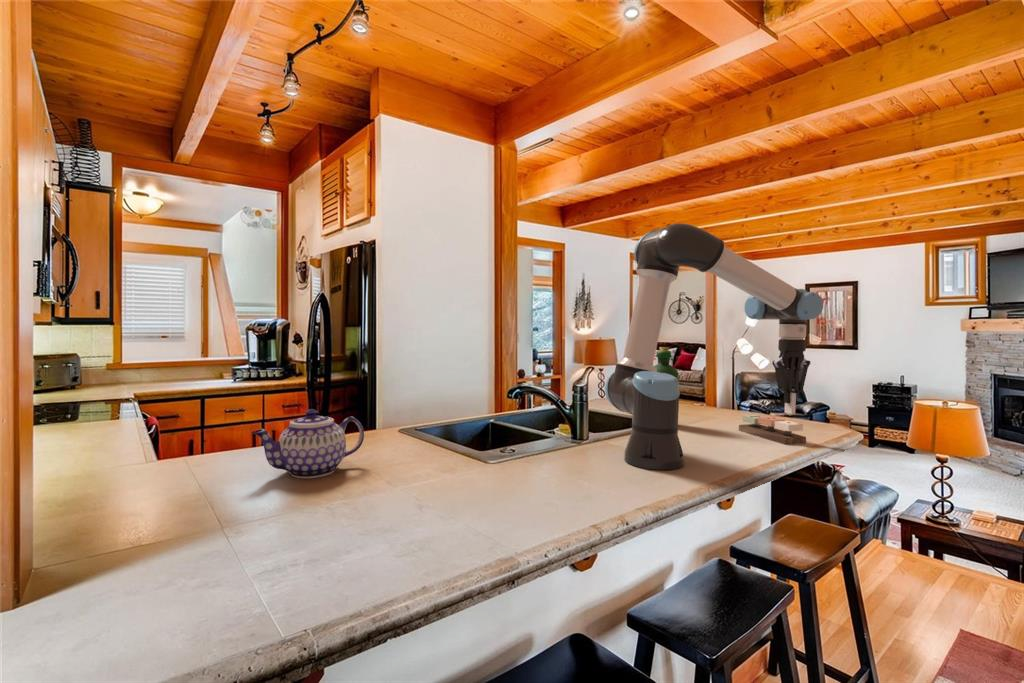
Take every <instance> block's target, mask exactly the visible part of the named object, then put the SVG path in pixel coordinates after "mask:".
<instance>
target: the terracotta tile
mask: <svg viewBox="0 0 1024 683" xmlns="http://www.w3.org/2000/svg"><path fill="white" fill-rule="evenodd" d="M775 421H786V419H785V418H784V419H783V418H780V417H775V416H762V417H758V423H759V424H760V425H764V426H768V431H770V432H774V428H775Z"/></svg>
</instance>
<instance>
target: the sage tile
mask: <svg viewBox="0 0 1024 683" xmlns="http://www.w3.org/2000/svg"><path fill="white" fill-rule="evenodd" d="M758 417H763V416H761V415H758V414H747V415H745V414H744V415H742V422H743V423H747V424H752V427H758V424H759V423H758Z"/></svg>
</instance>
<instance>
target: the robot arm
mask: <svg viewBox="0 0 1024 683" xmlns="http://www.w3.org/2000/svg"><path fill="white" fill-rule="evenodd" d="M633 251H634V252H633V257H634V261H635V263H636V265H637V267H636V270H635V271H636V274H637V276H638V277H639V282H638V287H637V291H636V296H635V301H634V305H633V306H634V307H633V310H632V315H631V318H630V319H631V320H630V325H629V330H628V333H627V339H626V342H625V347H624V353H623V357H622V358H621V359H620V360H618V361H617V362H616V364H615V369H614V372H612V373H611V374H610V375H609V376H608V378H607V379H606V382H605V386H604V394H605V397H606V399H607V400H608V402H609V404H610V405H611V406H613V407H614V408H615V409H617V410H618V411H620V412H623V413H627V414H629V415H631V416H632V417H631V418H632V420H631V433H630V436H629V438H628V441H627V444H626V447H625V449H624V456H623V457H624V461H625V462H626V463H627V464H629V465H631V466H634V467H638V468H642V469H648V470H657V471H670V470H671V471H672V470H679V469H680V468H683V467H684V466H685V454H684V452H683V448H682V446H681V442H680V438H679V407H680V406H679V405H680V403H679V402H680V394H681V392H680V391H681V390H680V382H679V379H678V380H677V378H676V377H674V376H672V375H670V374H666V373H660V372H657V371H656V369H655V368H654V366H655V365H654V360H655V357H656V353H657V347H658V341H659V337H660V333H661V328H662V323H663V320H664V319H663V318H664V315H665V309H666V304H667V299H668V295H669V290H670V286H671V283H673V282H674V281H675V280H677V279H678V275H679V270H680V267H688V268H692V269H695V270H697V271H699V272H701V273H708V272H709V273H711V274H712V275H714V276H716V277H718V278H719V279H720V280H723V281H725V282H727V283H728V284H730V285H731V286H734V287H735V288H738V289H739V290H741V291H743V292H745V293H746V294H748V295H749V296H748V297H747V299H746V300H745V302H744V313H745V315H746V316H747V317H748V318H749V319H751V320H759V321H761V320H778V337H779V339H778V344H777V345H778V346H777V347H778V348H777V349H778V351H779V355H778V358H777V359H776V360H772V363H771V364H772V366H773V368H774V373H775V378H776V384H777V390H778V391H779V392H781V393H783V403H784V413H785V414H789V415H796V404H797V402H798V394H801V392H802V391H803V390H804V387H805V383H806V377H807V374H808V373H807V372H808V369H809V367H810V365H811V360H807V359H806V357H805V354H804V352H806V350H807V340H806V337H807V322H808V321H807V320H815V319H816V318H818V317H819V316H820V315H821V314H822V312H823V310H824V300H823V298H822V296H821V295H820V294H819V293H816V292H811V291H807V290H806V289H804V288H795V287H794V286H792V285H791V284H788V283H787V282H786V281H784V280H782V279H781V278H779V277H778V276H775V275H774V274H772V273H770V272H769V271H767V270H765V269H764V268H762V267H760V265H759V266H758V265H757V264H755V263H753V261H750V260H748V259H747V258H745V257H743V256H742V255H740V254H738V253H737V252H735V251H734V250H731V249H730V248H728V247H726V244H725V241H724V240H723V239H721V238H719V237H717V236H716V235H714V234H712V233H710V232H709V231H706V230H704V229H703V228H700V227H698V226H695V225H693V224H688V223H684V222H683V223H679V222H678V223H672V224H670V225H668V226H664V227H662V228H660V229H659V228H656V229H654V230H651V231H649V232H647V233H645V234H644V235H643V236H641V237H640V238H639V239H638V241H637V242H636V244H635V247H634V250H633ZM804 338H805V339H804Z"/></svg>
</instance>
